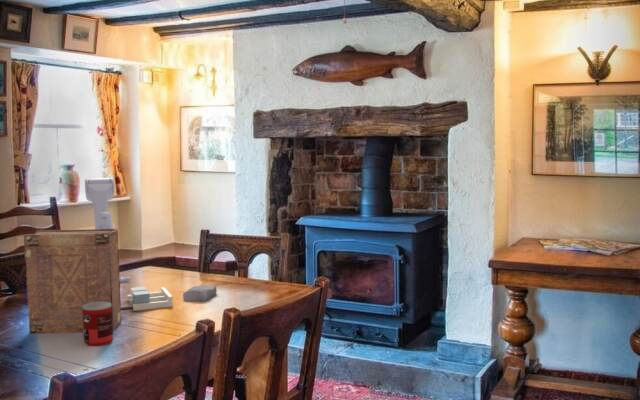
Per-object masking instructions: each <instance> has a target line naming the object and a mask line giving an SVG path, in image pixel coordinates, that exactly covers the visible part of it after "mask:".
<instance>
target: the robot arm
mask: <svg viewBox="0 0 640 400" xmlns="http://www.w3.org/2000/svg"><path fill="white" fill-rule="evenodd" d="M84 190H85V191H84V192H85V198H86V201H89V202H91V203H92V206H93V214H94V219H93V220H94V229H115V228H114V224H113V223H114V222H113V216H112V214H110V213H109V201H111V200H112V199H113V198H114V195H115V179H114V177H112V176H110V177H98V178H97V177H96V178H88V177H87V178H85V180H84ZM121 284H131V277H130V276H120V285H121Z"/></svg>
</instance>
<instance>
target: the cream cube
mask: <svg viewBox="0 0 640 400" xmlns="http://www.w3.org/2000/svg"><path fill="white" fill-rule="evenodd" d="M137 291H148V288H147V287H146V286H137V287H131V288H130V295H131V300H132V299H133V293H132V292H137ZM148 292H149V291H148Z"/></svg>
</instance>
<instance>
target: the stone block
mask: <svg viewBox="0 0 640 400" xmlns="http://www.w3.org/2000/svg"><path fill="white" fill-rule="evenodd" d="M216 294H217V285H208V284H201V285H198V286H193V287H191V288H189V289H187V290H186V291H185V292H183V293H182V296H183V299H184V301H189V302H192V301H193V302H195V301H197V302H205V301H208V300H209V299H211V298H212V297H214V296H216Z"/></svg>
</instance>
